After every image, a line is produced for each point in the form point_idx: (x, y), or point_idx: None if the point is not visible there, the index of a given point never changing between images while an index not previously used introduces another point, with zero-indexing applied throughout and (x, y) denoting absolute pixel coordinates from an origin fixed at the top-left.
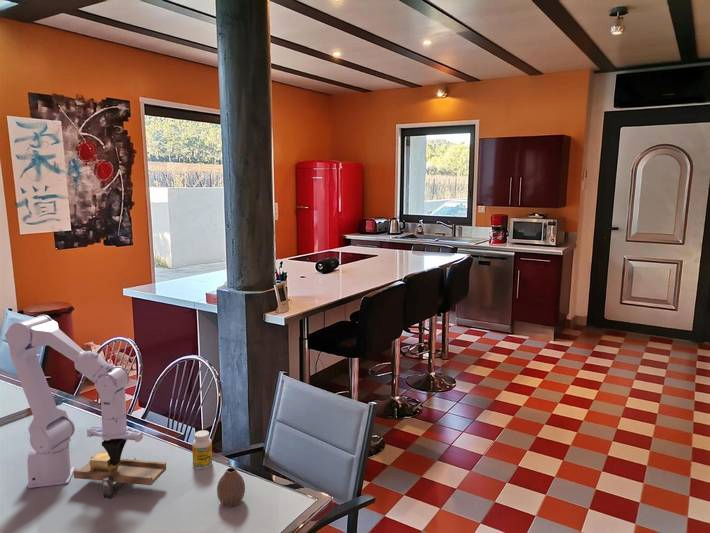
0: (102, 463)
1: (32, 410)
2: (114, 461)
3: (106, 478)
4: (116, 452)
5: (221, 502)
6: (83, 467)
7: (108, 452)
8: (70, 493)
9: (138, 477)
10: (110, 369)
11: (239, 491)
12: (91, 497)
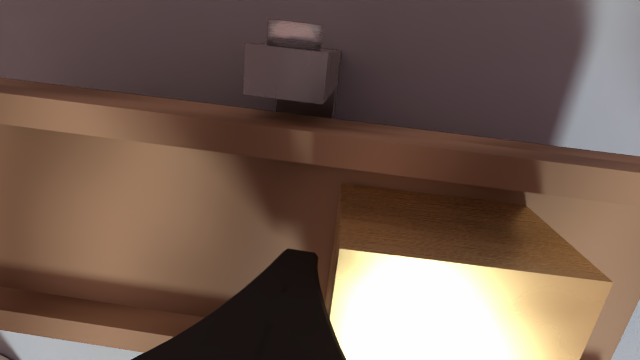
0: (410, 238)
1: None
2: (270, 267)
3: (301, 77)
4: (164, 347)
5: None
6: (635, 287)
7: (319, 357)
8: (613, 85)
9: None
10: None
11: None
12: (430, 49)
